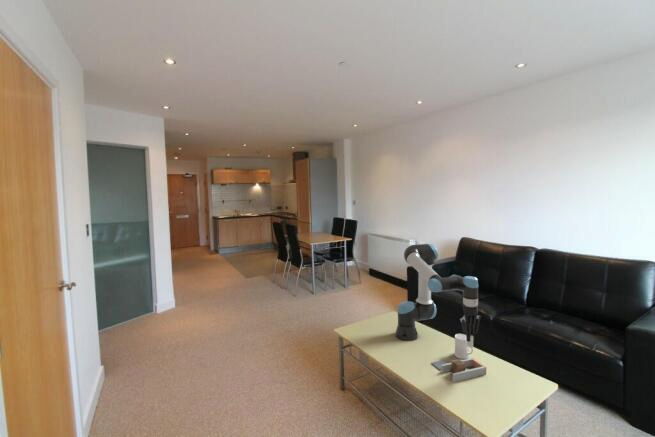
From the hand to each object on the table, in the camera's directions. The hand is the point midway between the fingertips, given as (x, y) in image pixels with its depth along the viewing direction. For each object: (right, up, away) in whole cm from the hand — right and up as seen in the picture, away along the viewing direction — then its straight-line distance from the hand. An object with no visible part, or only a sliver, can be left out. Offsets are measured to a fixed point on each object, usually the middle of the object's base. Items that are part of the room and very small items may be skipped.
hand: (470, 346), depth 175 cm
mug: (+4, -13, +17) cm, 22 cm away
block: (-7, -15, -1) cm, 16 cm away
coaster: (-13, -14, +8) cm, 21 cm away
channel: (-4, -15, 0) cm, 15 cm away
